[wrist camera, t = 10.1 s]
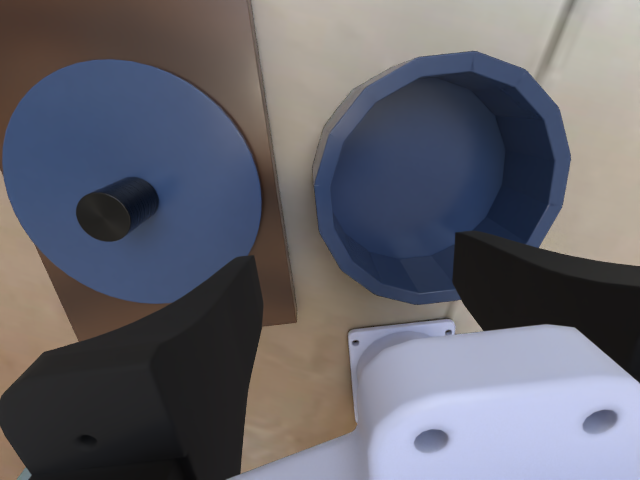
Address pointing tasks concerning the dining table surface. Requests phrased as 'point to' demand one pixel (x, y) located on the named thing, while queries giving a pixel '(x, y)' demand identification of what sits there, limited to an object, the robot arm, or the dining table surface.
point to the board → (172, 56)
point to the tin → (436, 170)
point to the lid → (130, 179)
